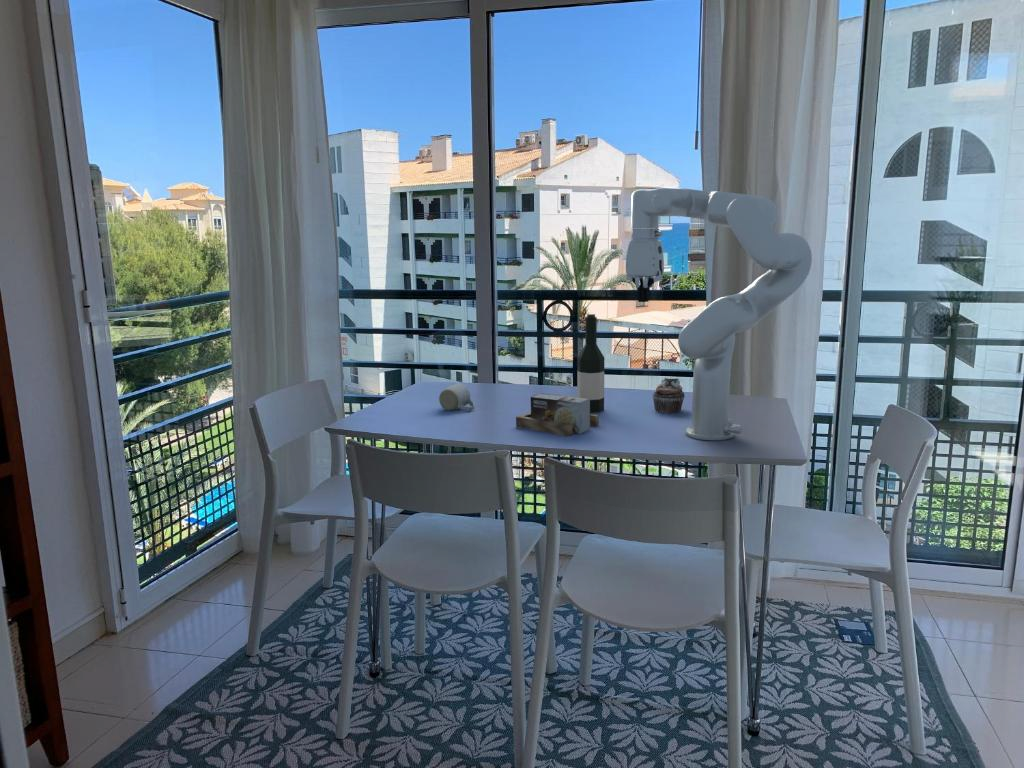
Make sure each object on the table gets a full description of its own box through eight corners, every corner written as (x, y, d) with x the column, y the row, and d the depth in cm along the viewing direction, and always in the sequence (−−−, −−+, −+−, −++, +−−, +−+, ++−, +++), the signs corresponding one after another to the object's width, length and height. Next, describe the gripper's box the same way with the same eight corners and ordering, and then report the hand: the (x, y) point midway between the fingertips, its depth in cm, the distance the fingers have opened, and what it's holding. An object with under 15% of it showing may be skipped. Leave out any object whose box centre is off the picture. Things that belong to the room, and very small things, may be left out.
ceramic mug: (437, 410, 236) (437, 386, 234) (450, 404, 243) (450, 381, 241) (467, 414, 231) (466, 389, 230) (479, 408, 238) (479, 384, 237)
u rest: (598, 425, 214) (598, 415, 214) (569, 436, 203) (569, 426, 202) (546, 416, 226) (546, 406, 225) (516, 426, 214) (515, 416, 214)
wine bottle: (602, 413, 228) (603, 316, 222) (575, 412, 230) (575, 315, 224) (605, 407, 236) (605, 312, 230) (578, 406, 238) (579, 312, 232)
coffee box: (590, 398, 208) (541, 391, 217) (579, 402, 203) (530, 395, 212) (590, 429, 210) (541, 422, 219) (579, 435, 205) (530, 426, 214)
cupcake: (651, 406, 236) (652, 375, 234) (682, 407, 234) (683, 376, 232) (652, 414, 227) (653, 381, 225) (685, 414, 225) (686, 382, 223)
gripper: (675, 235, 205) (673, 301, 209) (627, 235, 214) (626, 299, 218) (662, 235, 199) (661, 304, 203) (614, 236, 208) (613, 301, 212)
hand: (643, 301), depth 210 cm, fingers closed
